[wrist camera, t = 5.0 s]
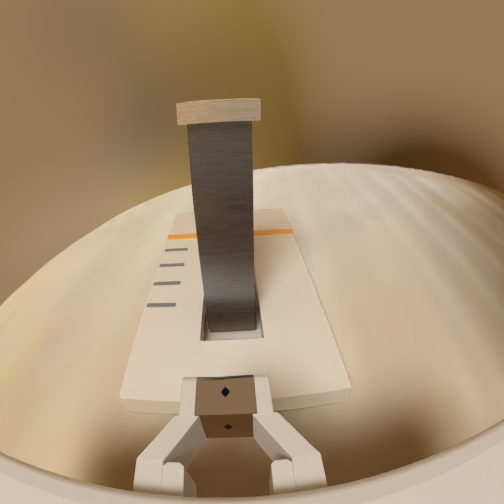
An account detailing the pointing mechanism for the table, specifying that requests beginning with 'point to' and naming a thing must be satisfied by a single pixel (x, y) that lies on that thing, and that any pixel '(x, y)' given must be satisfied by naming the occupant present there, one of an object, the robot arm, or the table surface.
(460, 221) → the table surface
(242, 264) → the fader tab
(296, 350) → the console
